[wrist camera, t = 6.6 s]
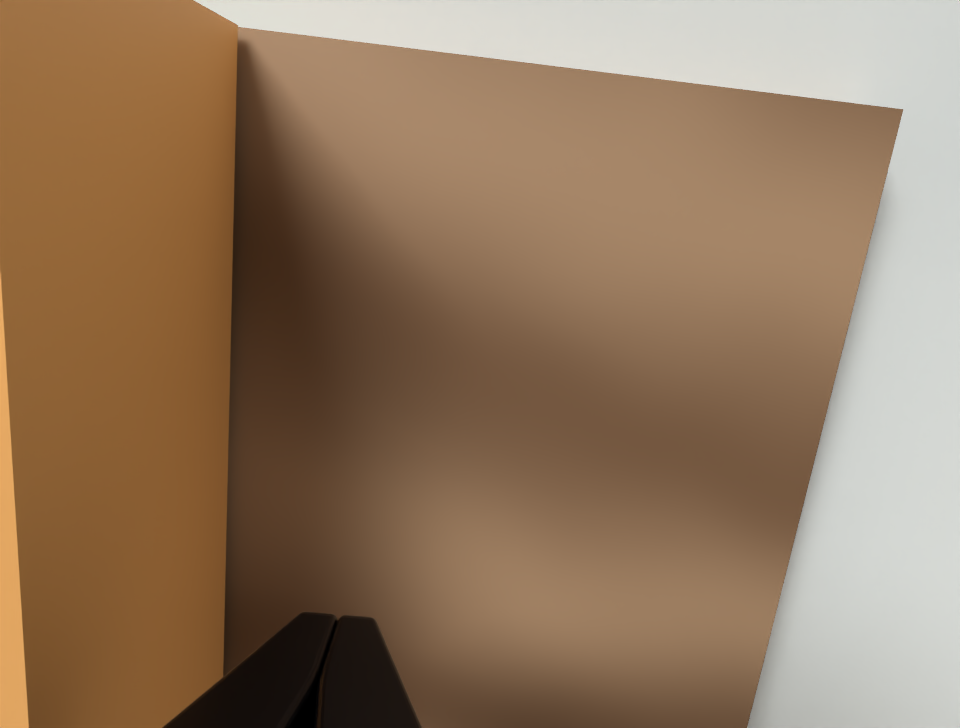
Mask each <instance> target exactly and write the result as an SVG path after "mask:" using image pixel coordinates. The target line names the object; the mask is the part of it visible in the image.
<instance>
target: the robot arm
mask: <svg viewBox="0 0 960 728" xmlns="http://www.w3.org/2000/svg"><path fill="white" fill-rule="evenodd" d="M162 728H422V726H421V724H420V721H419V719H418V717H417V714H416V712H415V710H414V707H413V705H412V703H411V700H410V698H409V696H408V693H407V691H406V689H405V686H404V684H403V682H402V679H401V677H400V675H399V672H398V670H397V668H396V665H395V663H394V661H393V658H392V656H391V654H390V651H389V649H388V647H387V644H386V642H385V640H384V637H383V635H382V632H381V630H380V628H379V625H378V623H377V621H376V620H375V619H374V618H372V617H363V616H351V615H343V616H341V617H340V618H339V619H337V616H335V615H334V614H328V613H316V612H302V613H300V614H299V615H297V616H296V617H295V618H294V619H292V620H291V621H290V622H289V623H288V624H286V625H285V626H284V627H283V628H282V629H280V630H279V631H278V632H277V633H276V634H274V635H273V636H272V637H271V638H269V639H268V640H267V641H266V642H265V643H263V644H262V645H261V646H260V647H259V648H257V649H256V650H255V651H254V652H253V653H251V654H250V655H249V656H248V657H247V658H245V659H244V660H243V661H242V662H241V663H239V664H238V665H237V666H236V667H234V668H233V669H232V670H231V671H230V672H228V673H227V674H226V675H225V676H224V677H222V678H221V679H220V680H219V681H218V682H216V683H215V684H214V685H213V686H212V687H210V688H209V689H208V690H207V691H206V692H204V693H203V694H202V695H201V696H199V697H198V698H197V699H196V700H195V701H193V702H192V703H191V704H190V705H189V706H187V707H186V708H185V709H184V710H183V711H181V712H180V713H179V714H178V715H177V716H175V717H174V718H173V719H172V720H171V721H169V722H168V723H167V724H166V725H164V726H163V727H162Z"/></svg>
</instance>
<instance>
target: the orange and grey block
mask: <svg viewBox="0 0 960 728" xmlns="http://www.w3.org/2000/svg"><path fill="white" fill-rule="evenodd" d="M237 42H238V25H236V24H235V23H233V22H231V21H229V20H227V19H226V18H224V17H222V16H220V15H218V14H217V13H215V12H213V11H211V10H210V9H208V8H206V7H204V6H202V5H201V4H199V3H197V2H195V1H193V0H0V728H162V727H163V726H164V725H166V724H167V723H168V722H169V721H171V720H172V719H173V718H174V717H175V716H177V715H178V714H179V713H180V712H181V711H183V710H184V709H185V708H186V707H187V706H189V705H190V704H191V703H192V702H193V701H195V700H196V699H197V698H198V697H199V696H201V695H202V694H203V693H204V692H206V691H207V690H208V689H209V688H210V687H212V686H213V685H214V684H215V683H216V682H218V681H219V680H220V679H221V678H222V677H223V661H224V617H225V573H226V529H227V484H228V440H229V396H230V352H231V307H232V263H233V219H234V174H235V130H236V86H237Z"/></svg>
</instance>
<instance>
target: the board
mask: <svg viewBox="0 0 960 728" xmlns="http://www.w3.org/2000/svg"><path fill="white" fill-rule="evenodd" d="M902 112H903V109H895V108H887V107H879V106H871V105H863V104H854V103H846V102H838V101H830V100H822V99H814V98H806V97H798V96H790V95H782V94H774V93H766V92H758V91H750V90H742V89H733V88H725V87H717V86H709V85H701V84H693V83H685V82H677V81H669V80H661V79H653V78H645V77H637V76H629V75H621V74H612V73H604V72H596V71H588V70H580V69H572V68H564V67H556V66H548V65H540V64H532V63H524V62H516V61H508V60H500V59H491V58H483V57H475V56H467V55H459V54H451V53H443V52H435V51H427V50H419V49H411V48H403V47H395V46H387V45H379V44H370V43H362V42H354V41H346V40H338V39H330V38H322V37H314V36H306V35H298V34H290V33H282V32H274V31H266V30H258V29H249V28H241V27H238V42H237V86H236V130H235V174H234V219H233V263H232V307H231V352H230V396H229V440H228V484H227V529H226V573H225V617H224V661H223V677H224V676H225V675H226V674H227V673H228V672H230V671H231V670H232V669H233V668H234V667H236V666H237V665H238V664H239V663H241V662H242V661H243V660H244V659H245V658H247V657H248V656H249V655H250V654H251V653H253V652H254V651H255V650H256V649H257V648H259V647H260V646H261V645H262V644H263V643H265V642H266V641H267V640H268V639H269V638H271V637H272V636H273V635H274V634H276V633H277V632H278V631H279V630H280V629H282V628H283V627H284V626H285V625H286V624H288V623H289V622H290V621H291V620H292V619H294V618H295V617H296V616H297V615H299V614H300V613H302V612H316V613H328V614H334V615H335V616H337V619H339V618H340V617H341V616H343V615H351V616H363V617H372V618H374V619H375V620H376V621H377V623H378V625H379V628H380V630H381V632H382V635H383V637H384V640H385V642H386V644H387V647H388V649H389V651H390V654H391V656H392V658H393V661H394V663H395V665H396V668H397V670H398V672H399V675H400V677H401V679H402V682H403V684H404V686H405V689H406V691H407V693H408V696H409V698H410V700H411V703H412V705H413V707H414V710H415V712H416V714H417V717H418V719H419V721H420V724H421V726H422V728H747V725H748V721H749V717H750V713H751V709H752V705H753V701H754V697H755V693H756V690H757V686H758V682H759V678H760V674H761V670H762V666H763V662H764V658H765V654H766V650H767V646H768V642H769V638H770V634H771V630H772V626H773V622H774V618H775V614H776V610H777V606H778V602H779V599H780V595H781V591H782V587H783V583H784V579H785V575H786V571H787V567H788V563H789V559H790V555H791V551H792V547H793V543H794V539H795V535H796V531H797V527H798V523H799V519H800V515H801V512H802V508H803V504H804V500H805V496H806V492H807V488H808V484H809V480H810V476H811V472H812V468H813V464H814V460H815V456H816V452H817V448H818V444H819V440H820V436H821V432H822V428H823V425H824V421H825V417H826V413H827V409H828V405H829V401H830V397H831V393H832V389H833V385H834V381H835V377H836V373H837V369H838V365H839V361H840V357H841V353H842V349H843V345H844V341H845V338H846V334H847V330H848V326H849V322H850V318H851V314H852V310H853V306H854V302H855V298H856V294H857V290H858V286H859V282H860V278H861V274H862V270H863V266H864V262H865V258H866V254H867V251H868V247H869V243H870V239H871V235H872V231H873V227H874V223H875V219H876V215H877V211H878V207H879V203H880V199H881V195H882V191H883V187H884V183H885V179H886V175H887V171H888V167H889V164H890V160H891V156H892V152H893V148H894V144H895V140H896V136H897V132H898V128H899V124H900V120H901V116H902Z"/></svg>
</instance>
